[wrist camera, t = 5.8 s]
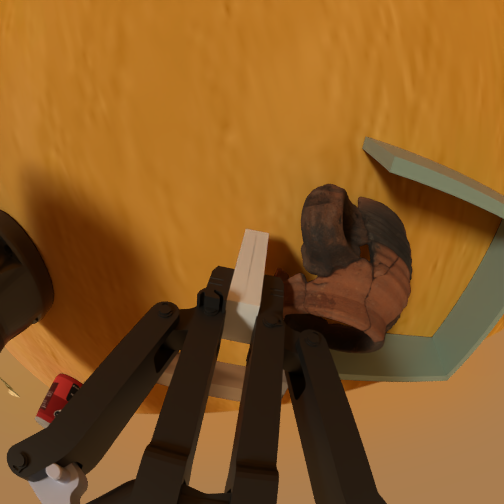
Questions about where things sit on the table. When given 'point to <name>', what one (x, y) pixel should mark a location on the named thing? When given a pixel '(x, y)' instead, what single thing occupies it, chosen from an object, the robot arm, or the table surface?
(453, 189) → the green u-shaped frame
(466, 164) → the table surface
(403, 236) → the pottery mug
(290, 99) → the table surface
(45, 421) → the canned food
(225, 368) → the hammer
